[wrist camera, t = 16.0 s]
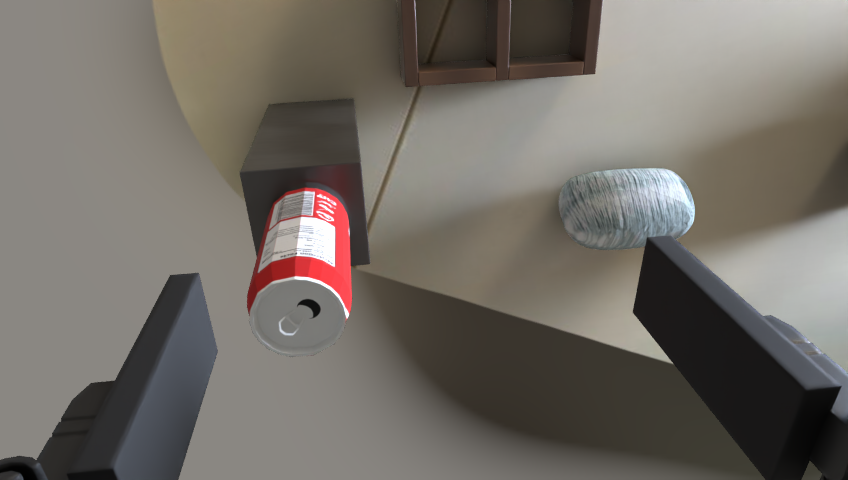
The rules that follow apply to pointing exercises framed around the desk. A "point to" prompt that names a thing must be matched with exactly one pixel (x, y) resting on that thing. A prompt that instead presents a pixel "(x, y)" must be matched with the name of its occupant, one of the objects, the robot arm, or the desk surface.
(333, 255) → the soda can
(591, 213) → the yarn skein
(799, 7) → the desk surface
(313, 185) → the block
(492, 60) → the can rack
